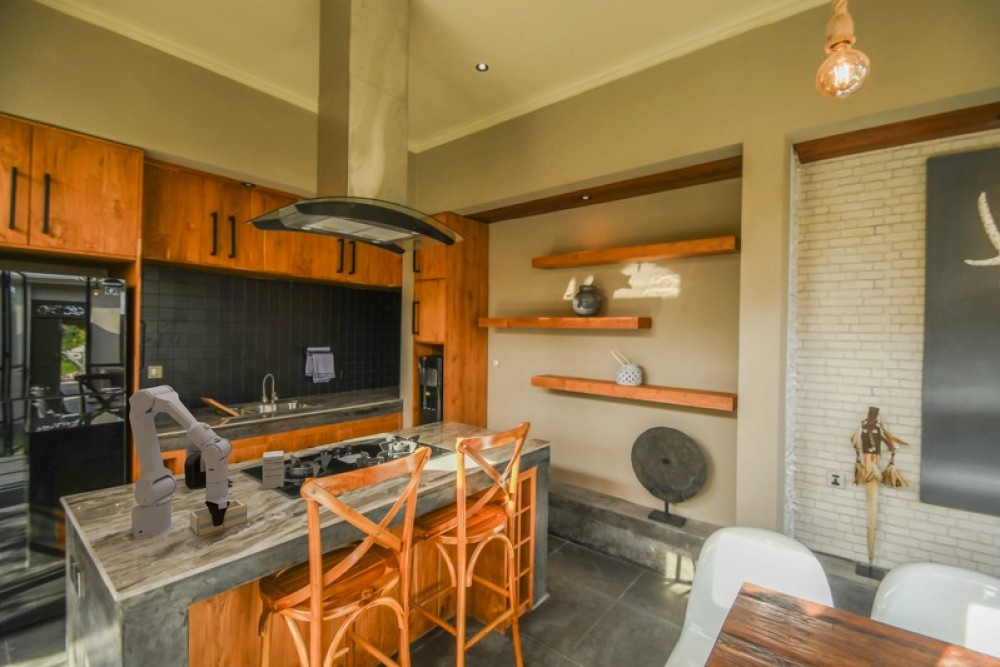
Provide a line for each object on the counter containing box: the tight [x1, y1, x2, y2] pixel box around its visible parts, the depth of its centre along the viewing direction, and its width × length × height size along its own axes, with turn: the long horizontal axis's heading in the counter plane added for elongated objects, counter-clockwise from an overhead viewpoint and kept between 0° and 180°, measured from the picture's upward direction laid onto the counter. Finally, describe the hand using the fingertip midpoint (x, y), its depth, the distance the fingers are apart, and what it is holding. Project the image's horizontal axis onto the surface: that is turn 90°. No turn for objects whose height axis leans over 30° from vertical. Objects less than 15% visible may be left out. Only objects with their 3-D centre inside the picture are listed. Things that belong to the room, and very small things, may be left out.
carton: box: [189, 499, 244, 534], centre depth 139 cm, size 13×8×5 cm, turn 138°
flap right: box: [223, 503, 248, 529], centre depth 139 cm, size 7×1×6 cm, turn 138°
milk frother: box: [183, 445, 234, 489], centre depth 171 cm, size 14×16×15 cm
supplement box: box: [262, 450, 285, 491], centre depth 172 cm, size 7×7×13 cm
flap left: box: [196, 514, 224, 537], centre depth 133 cm, size 7×1×6 cm, turn 138°
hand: (217, 524), depth 135 cm, fingers closed
